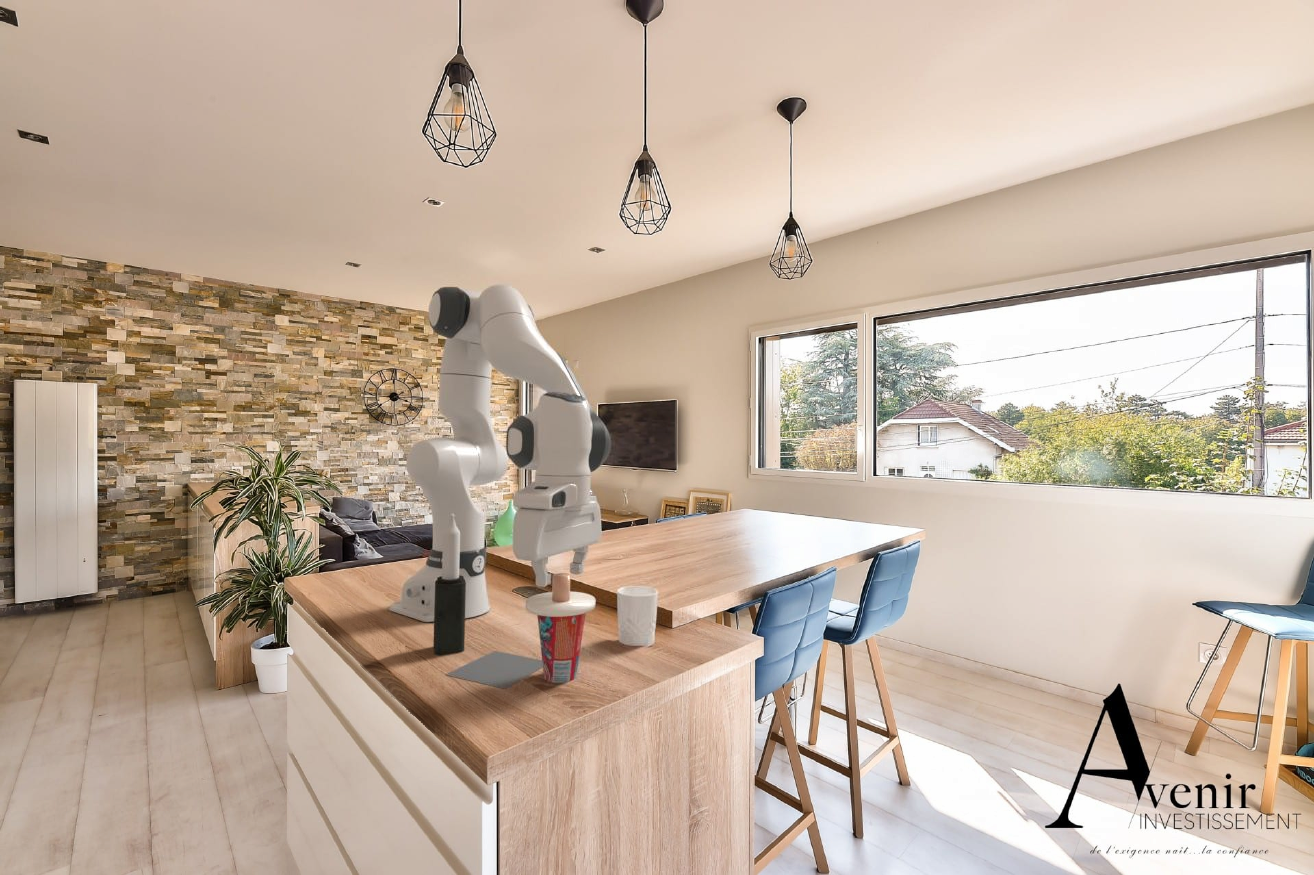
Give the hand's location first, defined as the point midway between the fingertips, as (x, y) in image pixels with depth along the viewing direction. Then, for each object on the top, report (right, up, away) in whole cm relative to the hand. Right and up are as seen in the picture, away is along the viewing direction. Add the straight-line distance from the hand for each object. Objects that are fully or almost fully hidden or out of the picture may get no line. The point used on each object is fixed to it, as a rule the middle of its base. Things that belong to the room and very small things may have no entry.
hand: (560, 579), depth 91 cm
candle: (-22, -16, +12) cm, 30 cm away
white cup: (+12, -17, +19) cm, 28 cm away
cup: (0, -17, 0) cm, 17 cm away
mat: (-11, -16, +3) cm, 20 cm away
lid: (0, -4, 0) cm, 4 cm away
